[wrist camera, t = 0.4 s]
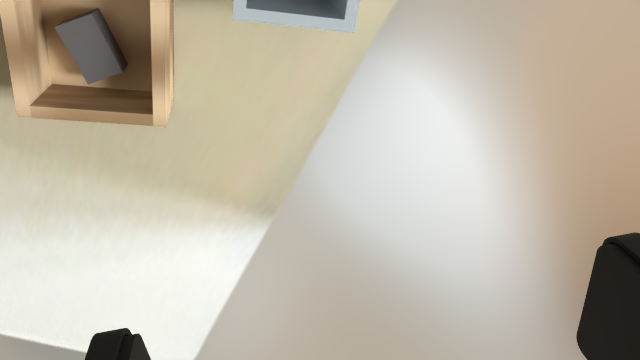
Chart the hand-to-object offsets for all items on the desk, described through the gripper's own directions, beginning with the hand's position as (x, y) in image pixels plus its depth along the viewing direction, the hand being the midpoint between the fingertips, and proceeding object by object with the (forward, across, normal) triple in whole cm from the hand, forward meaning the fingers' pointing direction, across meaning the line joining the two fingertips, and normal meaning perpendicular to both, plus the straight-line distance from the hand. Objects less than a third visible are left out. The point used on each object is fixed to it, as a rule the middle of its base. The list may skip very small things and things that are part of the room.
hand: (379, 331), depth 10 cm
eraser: (+29, +12, -1) cm, 31 cm away
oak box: (+29, +12, -1) cm, 32 cm away
